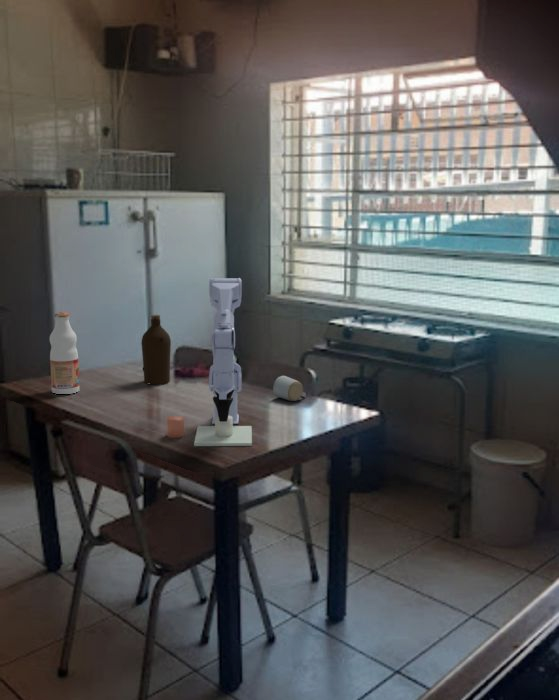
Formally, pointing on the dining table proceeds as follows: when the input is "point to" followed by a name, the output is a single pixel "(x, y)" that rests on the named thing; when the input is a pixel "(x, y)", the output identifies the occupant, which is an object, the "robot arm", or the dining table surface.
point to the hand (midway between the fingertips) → (223, 417)
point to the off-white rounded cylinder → (224, 427)
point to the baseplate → (208, 437)
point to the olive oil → (156, 353)
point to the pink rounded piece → (175, 426)
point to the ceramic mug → (288, 388)
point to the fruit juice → (64, 356)
